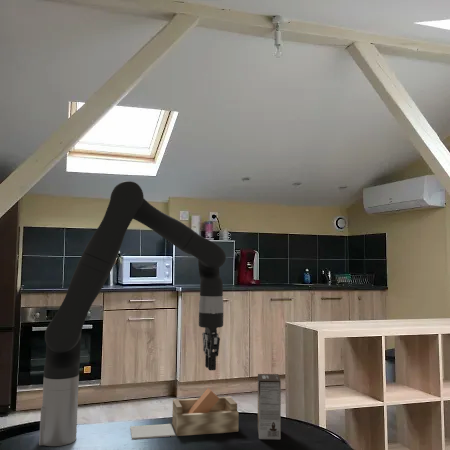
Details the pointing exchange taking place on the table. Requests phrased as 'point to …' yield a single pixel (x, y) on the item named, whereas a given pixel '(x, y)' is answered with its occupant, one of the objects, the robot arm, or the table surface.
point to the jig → (205, 417)
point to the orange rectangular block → (204, 402)
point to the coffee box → (269, 406)
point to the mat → (151, 431)
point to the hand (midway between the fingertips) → (210, 368)
